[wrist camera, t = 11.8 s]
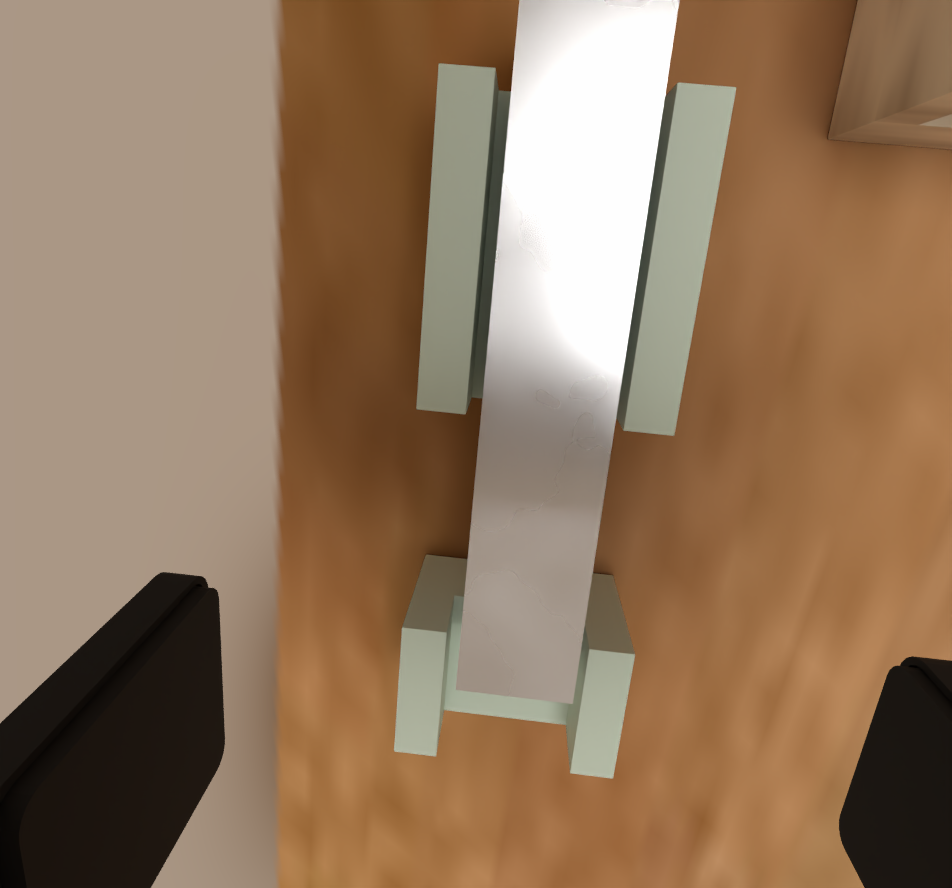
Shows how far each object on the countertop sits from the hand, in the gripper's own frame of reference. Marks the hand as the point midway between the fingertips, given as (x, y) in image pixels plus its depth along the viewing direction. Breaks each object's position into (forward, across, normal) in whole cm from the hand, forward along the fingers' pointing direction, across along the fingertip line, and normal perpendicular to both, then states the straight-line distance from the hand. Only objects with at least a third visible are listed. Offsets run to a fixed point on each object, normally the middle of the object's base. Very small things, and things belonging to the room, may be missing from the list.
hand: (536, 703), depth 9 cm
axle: (+10, 0, -3) cm, 10 cm away
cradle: (+12, 0, 0) cm, 12 cm away
